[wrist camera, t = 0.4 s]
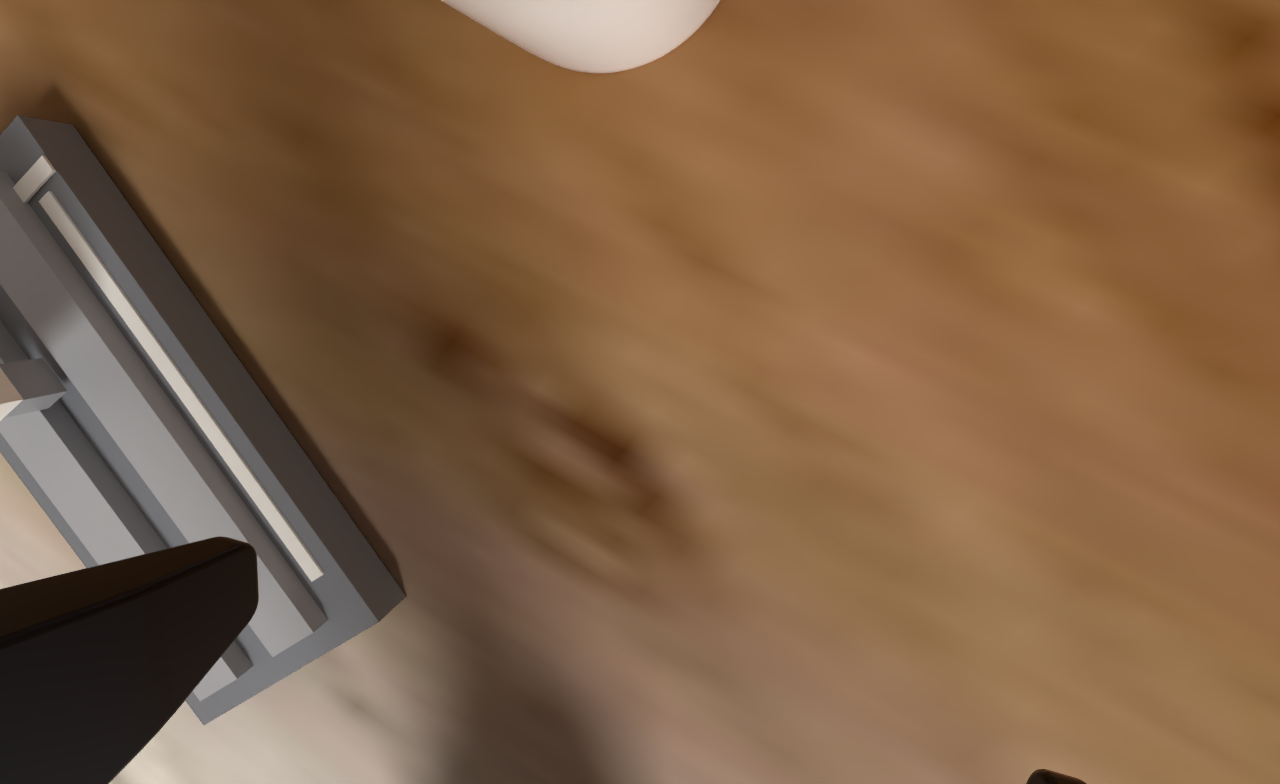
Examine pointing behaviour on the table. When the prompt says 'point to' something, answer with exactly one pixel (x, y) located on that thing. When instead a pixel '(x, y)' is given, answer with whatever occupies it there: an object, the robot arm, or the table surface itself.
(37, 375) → the fader
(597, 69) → the candle holder
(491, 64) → the table surface
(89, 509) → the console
